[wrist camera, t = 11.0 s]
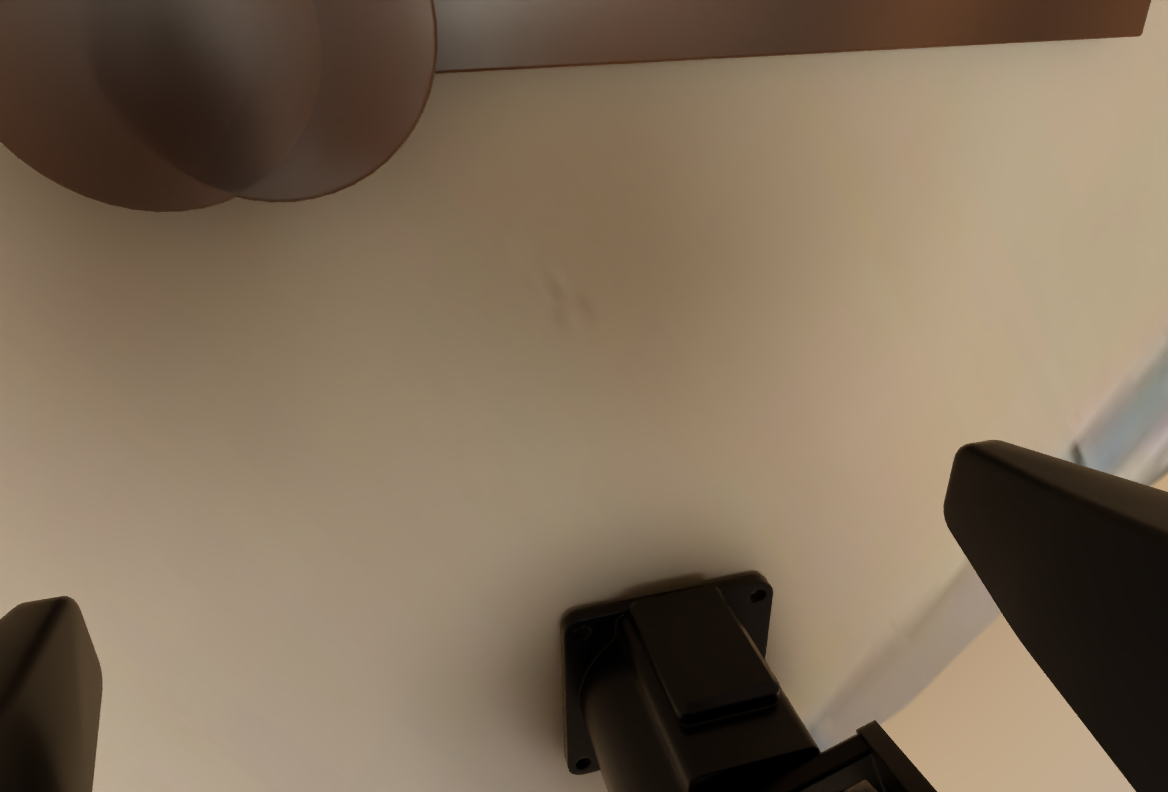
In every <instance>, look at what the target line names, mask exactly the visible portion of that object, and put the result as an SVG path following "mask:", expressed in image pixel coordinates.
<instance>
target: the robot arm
mask: <svg viewBox="0 0 1168 792" xmlns="http://www.w3.org/2000/svg"><path fill="white" fill-rule="evenodd" d="M944 517H945V521H946V523H947V526H948V528H949V530H950V531H951V533H952V535H953V536H954V538H955V539H956V541H957V542H958V544H959V546H960V547H961V549H962V550H963V552H964V554H965V555H966V557H967V558H968V560H969V562H970V563H971V565H972V566H973V568H974V569H975V571H976V573H977V574H978V576H979V577H980V579H981V581H982V582H983V584H984V585H985V587H986V589H987V590H988V592H989V593H990V595H991V596H992V598H993V600H994V601H995V603H996V604H997V606H998V608H999V609H1000V611H1001V612H1002V614H1003V616H1004V617H1005V619H1006V620H1007V622H1008V623H1009V625H1010V626H1011V628H1012V629H1013V631H1014V632H1015V634H1016V635H1017V637H1018V638H1019V640H1020V641H1021V642H1022V644H1023V645H1024V646H1025V648H1026V649H1027V651H1028V652H1029V653H1030V655H1031V656H1032V657H1033V659H1034V660H1035V661H1036V662H1037V664H1038V665H1039V666H1040V668H1041V669H1042V670H1043V671H1044V673H1045V674H1046V675H1047V677H1048V678H1049V679H1050V680H1051V682H1052V683H1053V684H1054V686H1055V687H1056V688H1057V690H1058V691H1059V692H1060V693H1061V695H1062V696H1063V697H1064V699H1065V700H1066V701H1067V703H1068V704H1069V705H1070V706H1071V708H1072V709H1073V710H1074V712H1075V713H1076V714H1077V715H1078V717H1079V718H1080V719H1081V721H1082V722H1083V723H1084V725H1085V726H1086V727H1087V728H1088V730H1089V731H1090V732H1091V734H1092V735H1093V736H1094V737H1095V739H1096V740H1097V741H1098V742H1099V744H1100V745H1101V747H1102V748H1103V749H1104V751H1105V752H1106V753H1107V754H1108V756H1109V757H1110V758H1111V760H1112V761H1113V762H1114V763H1115V765H1116V766H1117V767H1118V769H1119V770H1120V771H1121V773H1122V774H1123V775H1124V776H1125V778H1126V779H1127V780H1128V782H1129V783H1130V784H1131V785H1132V787H1133V788H1134V789H1135V791H1136V792H1168V492H1166V491H1162V490H1159V489H1156V488H1153V487H1150V486H1146V485H1143V484H1140V483H1137V482H1133V481H1130V480H1127V479H1124V478H1120V477H1117V476H1114V475H1111V474H1107V473H1104V472H1101V471H1098V470H1094V469H1091V468H1088V467H1085V466H1081V465H1078V464H1075V463H1072V462H1068V461H1065V460H1062V459H1059V458H1055V457H1052V456H1049V455H1046V454H1042V453H1039V452H1036V451H1033V450H1029V449H1026V448H1023V447H1020V446H1016V445H1013V444H1010V443H1007V442H1003V441H999V440H988V441H982V442H976V443H970V444H966V445H964V446H962V447H960V449H959V450H958V451H957V453H956V455H955V457H954V461H953V466H952V470H951V474H950V479H949V483H948V488H947V492H946V496H945V501H944ZM756 590H757V591H756ZM754 591H756V592H755V593H753V592H754ZM752 593H753V594H752ZM772 597H773V589H772V587H771V586H770V584H769V583H768V581H767V580H766V579H765V577H764V576H762V575H749V576H744V577H739V578H734V579H730V580H725V581H720V582H715V583H710V584H705V585H700V586H695V587H690V588H685V589H680V590H675V591H670V592H665V593H660V594H655V595H650V596H646V597H641V598H636V599H631V600H626V601H621V602H616V603H611V604H606V605H601V606H596V607H591V608H586V609H581V610H577V611H574V612H571V613H570V614H568V615H567V616H566V617H565V618H564V619H563V621H562V623H561V652H562V685H563V717H564V750H565V760H566V763H567V766H568V769H569V771H570V772H571V773H572V774H576V775H581V774H586V773H590V772H594V771H598V770H601V773H602V776H603V779H604V782H605V784H606V787H607V790H608V792H937V791H936V790H935V789H934V788H933V786H932V785H931V784H930V783H929V782H928V781H927V779H926V778H925V777H924V776H923V775H922V774H921V773H920V772H919V770H918V769H917V768H916V767H915V766H914V765H913V763H912V762H911V761H910V760H909V759H908V758H907V756H906V755H905V754H904V753H903V752H902V751H901V749H899V747H898V746H897V745H896V744H895V743H894V741H893V740H892V739H891V738H890V737H889V736H888V734H887V733H886V732H885V731H884V730H883V729H882V728H881V726H880V725H879V724H878V723H877V722H876V721H875V720H874V721H872V722H870V723H868V724H867V725H865V726H863V727H861V728H859V729H857V730H856V732H857V734H856V735H854V736H852V737H850V738H848V739H846V740H844V741H843V742H841V743H839V744H837V745H835V746H833V747H831V748H829V749H827V750H825V751H824V752H822V753H821V751H820V750H819V748H818V746H817V745H816V743H815V742H814V740H813V738H812V737H811V735H810V734H809V732H808V730H807V729H806V727H805V726H804V724H803V722H802V721H801V719H800V718H799V716H798V714H797V713H796V711H795V710H794V708H793V706H792V705H791V703H790V702H789V700H788V698H787V697H786V695H785V693H784V692H783V690H782V689H781V687H780V685H779V682H778V681H777V679H776V677H775V676H774V674H773V673H772V671H771V669H770V668H769V666H768V665H767V663H766V661H765V655H766V647H767V638H768V630H769V622H770V613H771V605H772ZM580 626H584V627H583V628H582V629H579V630H575V629H576V628H578V627H580ZM101 699H102V672H101V667H100V663H99V660H98V657H97V654H96V652H95V649H94V646H93V643H92V641H91V638H90V635H89V632H88V629H87V627H86V624H85V621H84V618H83V616H82V613H81V610H80V608H79V606H78V604H77V603H76V602H75V600H74V599H72V598H70V597H68V596H60V597H54V598H48V599H42V600H36V601H30V602H25V603H22V604H19V605H17V606H16V607H15V608H13V609H12V610H11V611H9V612H8V613H7V614H6V615H5V616H4V617H2V618H1V619H0V792H92V787H93V778H94V768H95V758H96V748H97V738H98V728H99V718H100V708H101Z"/></svg>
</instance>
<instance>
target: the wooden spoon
mask: <svg viewBox="0 0 1168 792" xmlns="http://www.w3.org/2000/svg"><path fill="white" fill-rule="evenodd" d="M1150 2H1151V0H0V142H1V143H2V144H4V145H5V146H6V147H7V148H8V149H9V150H10V151H11V152H12V153H14V154H15V155H16V156H17V157H18V158H19V159H21V160H22V161H24V162H25V163H26V164H28V165H29V166H30V167H32V168H33V169H35V170H36V171H37V172H39V173H40V174H42V175H44V176H45V177H47V178H49V179H51V180H52V181H54V182H56V183H57V184H59V185H61V186H63V187H65V188H67V189H69V190H72V191H74V192H76V193H78V194H81V195H83V196H85V197H88V198H91V199H94V200H97V201H100V202H103V203H106V204H109V205H113V206H118V207H123V208H128V209H133V210H142V211H152V212H180V211H188V210H195V209H201V208H206V207H209V206H213V205H217V204H220V203H224V202H226V201H229V200H231V199H233V198H236V197H238V198H242V199H247V200H254V201H264V202H296V201H303V200H309V199H315V198H319V197H322V196H326V195H330V194H333V193H336V192H338V191H341V190H343V189H345V188H348V187H350V186H352V185H354V184H356V183H358V182H359V181H361V180H363V179H364V178H366V177H368V176H369V175H371V174H372V173H374V172H375V171H376V170H377V169H379V168H380V167H381V166H382V165H384V164H385V163H386V162H387V161H388V160H389V159H390V158H391V157H392V156H393V155H394V154H395V153H396V152H397V151H398V150H399V149H400V148H401V146H402V145H403V144H404V142H405V141H406V139H407V138H408V137H409V135H410V134H411V132H412V131H413V129H414V128H415V126H416V124H417V122H418V120H419V118H420V116H421V115H422V113H423V110H424V108H425V105H426V102H427V100H428V97H429V94H430V91H431V87H432V83H433V78H434V74H438V73H457V72H476V71H495V70H514V69H532V68H551V67H570V66H589V65H608V64H627V63H646V62H665V61H683V60H702V59H721V58H740V57H759V56H778V55H797V54H816V53H834V52H853V51H872V50H891V49H910V48H929V47H948V46H967V45H985V44H1004V43H1023V42H1042V41H1061V40H1080V39H1099V38H1118V37H1136V36H1140V35H1141V34H1142V32H1143V28H1144V24H1145V21H1146V17H1147V13H1148V10H1149V6H1150Z"/></svg>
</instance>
